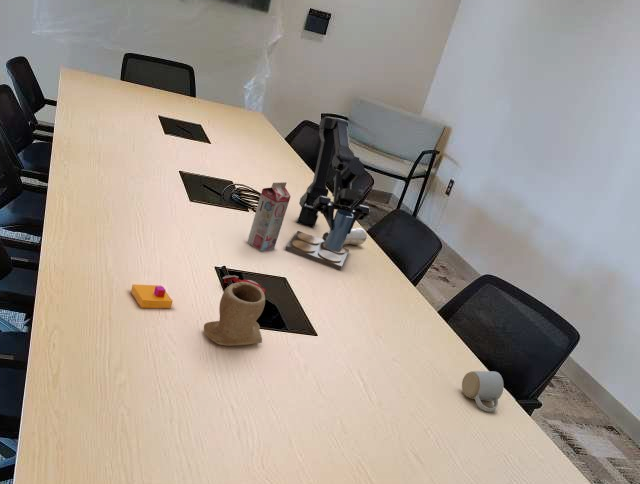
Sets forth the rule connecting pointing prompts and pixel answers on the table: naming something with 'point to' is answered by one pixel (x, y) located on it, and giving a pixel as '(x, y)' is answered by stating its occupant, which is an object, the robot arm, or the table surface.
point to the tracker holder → (240, 281)
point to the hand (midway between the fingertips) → (340, 231)
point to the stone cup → (238, 316)
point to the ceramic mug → (483, 387)
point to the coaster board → (316, 250)
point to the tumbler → (339, 230)
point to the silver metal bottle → (352, 236)
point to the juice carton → (269, 217)
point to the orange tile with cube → (151, 296)
